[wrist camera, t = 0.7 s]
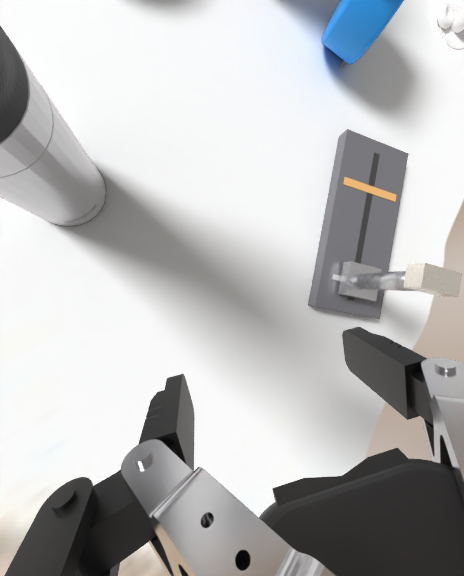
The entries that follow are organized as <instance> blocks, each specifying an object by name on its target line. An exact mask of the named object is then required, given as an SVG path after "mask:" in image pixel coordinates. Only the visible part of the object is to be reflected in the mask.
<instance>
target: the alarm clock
mask: <svg viewBox="0 0 464 576" xmlns="http://www.w3.org/2000/svg"><path fill="white" fill-rule="evenodd" d="M403 1H404V0H340V1H339V3H338V5H337V7H336V9H335V11H334V13H333V15H332V17H331V19H330V21H329V23H328V25H327V27H326V29H325V31H324V34H323V36H322V43H323V44H324V45H325V46H326V47H328V48H329V49H330V50H331V51H333V52H334V53H335V54H336V55H338V56H339V57H340V58H341V59H343V62H342V64H341V66H340V67H341V68H342V66H343V65H344V64H345V63H348V64H352V63H354V62H356V61H357V60H358V59H359V58H360V57H361V56H362V55H363V54H364V53H365V52H366V51H367V50H368V48H369V47H370V46H371V45H372V44H373V42H374V41H375V40H376V38H377V37H378V36H379V35H380V33H381V32H382V31H383V29H384V28H385V27H386V25H387V24H388V22H389V21H390V20H391V18H392V17H393V15H394V14H395V12H396V11H397V10H398V8H399V7H400V5H401V4H402V2H403Z"/></svg>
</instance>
